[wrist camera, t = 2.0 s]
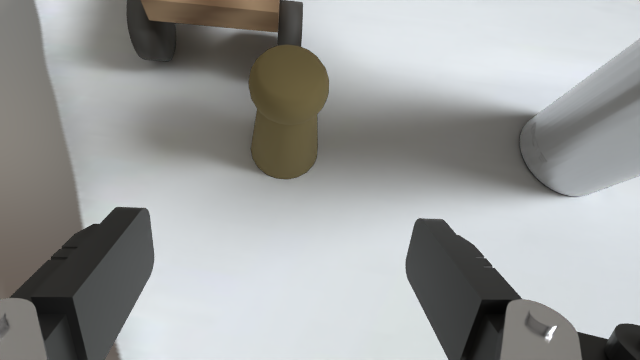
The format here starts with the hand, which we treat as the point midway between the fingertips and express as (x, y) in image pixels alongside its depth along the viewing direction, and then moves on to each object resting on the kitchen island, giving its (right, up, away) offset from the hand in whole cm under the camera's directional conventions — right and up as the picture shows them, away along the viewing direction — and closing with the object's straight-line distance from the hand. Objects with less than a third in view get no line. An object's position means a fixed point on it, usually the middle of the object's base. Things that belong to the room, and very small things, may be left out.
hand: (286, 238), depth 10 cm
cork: (-2, +5, +20) cm, 21 cm away
